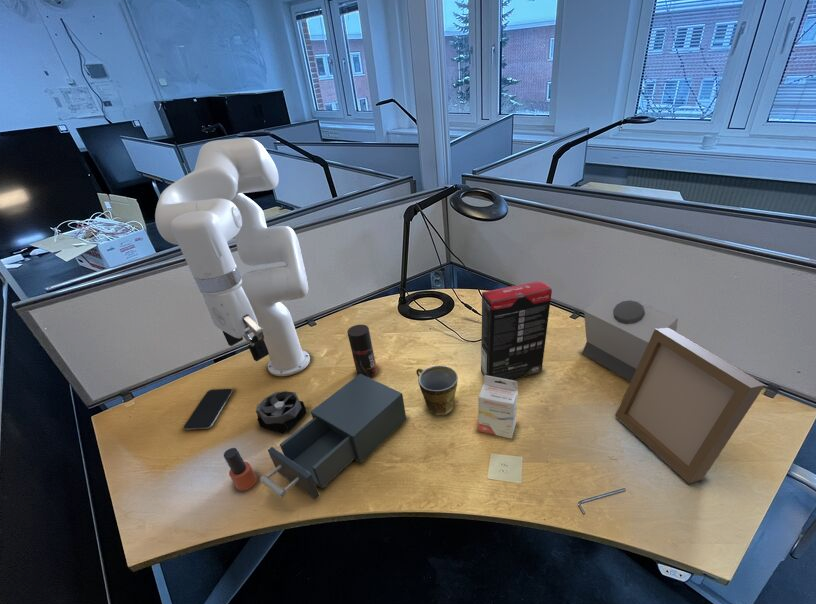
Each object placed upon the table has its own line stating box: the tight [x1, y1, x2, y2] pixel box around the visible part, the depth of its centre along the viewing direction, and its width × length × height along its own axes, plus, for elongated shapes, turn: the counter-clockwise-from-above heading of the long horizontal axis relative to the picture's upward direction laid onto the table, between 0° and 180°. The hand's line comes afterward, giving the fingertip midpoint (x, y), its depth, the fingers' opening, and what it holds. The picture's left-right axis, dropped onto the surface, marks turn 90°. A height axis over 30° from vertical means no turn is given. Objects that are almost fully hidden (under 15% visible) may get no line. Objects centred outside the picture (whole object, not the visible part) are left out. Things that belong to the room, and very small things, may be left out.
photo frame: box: [614, 328, 766, 484], centre depth 89 cm, size 15×22×25 cm
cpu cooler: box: [255, 390, 307, 435], centre depth 107 cm, size 10×6×10 cm
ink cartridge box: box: [477, 375, 519, 439], centre depth 97 cm, size 9×5×15 cm, turn 71°
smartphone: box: [183, 388, 233, 431], centre depth 113 cm, size 7×1×15 cm
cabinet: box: [310, 374, 407, 464], centre depth 101 cm, size 17×15×9 cm
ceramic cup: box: [416, 365, 459, 416], centre depth 107 cm, size 13×10×10 cm
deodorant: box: [346, 324, 378, 378], centre depth 119 cm, size 6×6×15 cm
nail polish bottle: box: [223, 447, 258, 491], centre depth 90 cm, size 4×4×10 cm
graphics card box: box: [480, 280, 553, 383], centre depth 111 cm, size 17×7×27 cm, turn 108°
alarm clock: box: [581, 288, 679, 382], centre depth 114 cm, size 20×16×20 cm
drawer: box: [259, 417, 357, 500], centre depth 91 cm, size 20×13×7 cm, turn 145°
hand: (248, 349), depth 89 cm, fingers open, 9 cm apart
